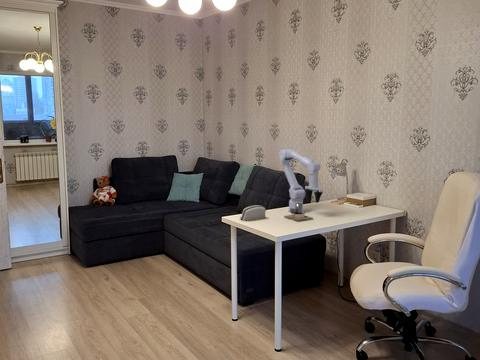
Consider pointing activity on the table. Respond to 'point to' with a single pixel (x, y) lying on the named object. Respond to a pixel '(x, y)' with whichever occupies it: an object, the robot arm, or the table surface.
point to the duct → (298, 217)
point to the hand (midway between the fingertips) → (313, 201)
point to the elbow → (297, 209)
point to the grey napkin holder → (253, 213)
